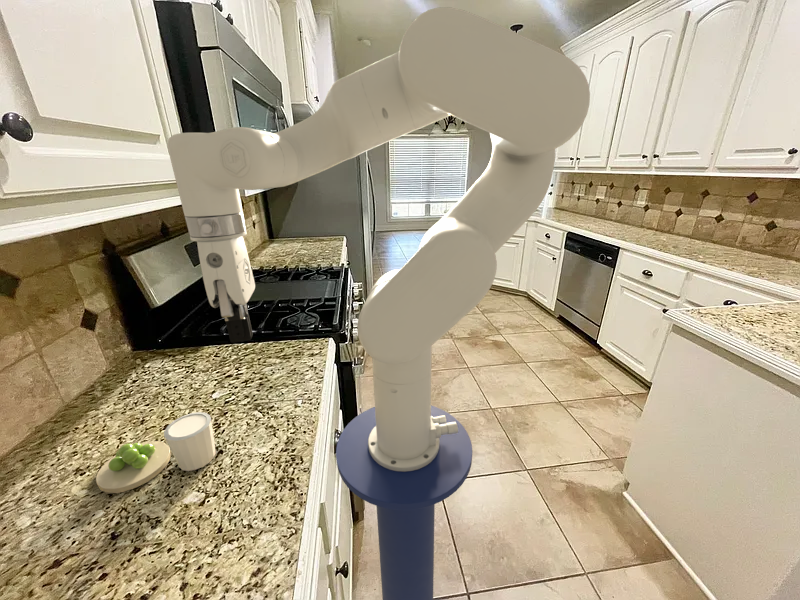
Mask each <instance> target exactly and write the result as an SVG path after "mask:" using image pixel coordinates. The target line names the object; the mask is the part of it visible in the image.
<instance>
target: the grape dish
mask: <svg viewBox="0 0 800 600" xmlns="http://www.w3.org/2000/svg"><path fill="white" fill-rule="evenodd" d="M171 456H172V451H171V449H170V447H169V445H168V443H167V442H166V443H165V442H164V441H159V440H152V441H151V440H149V441H145V442H141V443H140V442H134V443H124V444H123V445H121V446H120V447H119V449H118V450H117V451H116V452H115V455H113V456H112V457H111V458H109V459H108V460H107V461H106V462H105V463H104V464H103V465H102V466H101V467H100V468H99V470H98V472H97V473H96V476H95V482H96V485H97V487H98V489H99V490H100V491H102V492H103V493H106V494H118V493H119V494H121V493H125V492H128V491H130V490H133V489H136V488H138V487H140V486H142V485H144V484H146V483H148V482H149V481H151V480H153V479H154V478H155V477H157V476H158V475H159V474H160V473H161V472H162V471H163V470H164V469H165V468H166V467H167V466H168V464H169V462H170V460H171V458H172V457H171Z"/></svg>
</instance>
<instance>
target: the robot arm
mask: <svg viewBox="0 0 800 600" xmlns="http://www.w3.org/2000/svg"><path fill="white" fill-rule="evenodd" d="M590 91H591V90H590V85H589V82H588V80H587V77H586V74H585V73H584V72H583V71H582V69H581V67H580V65H578V64H577V63H575V62H574V61H573V60H572V59H571V58H569V57H568V56H566V55H564V54H562V53H561V52H559V51H557V50H555V49H553V48H551V47H548V46H546V45H545V44H542V43H540V42H537V41H535V40H533V39H531V38H528V37H526V36H523V35H521V34H520V33H517V32H515V31H513V30H512V29H509V28H507V27H505V26H502V25H501V24H498V23H497V22H494V21H491V20H489V19H487V18H484V17H482V16H480V15H478V14H475V13H472V12H470V11H467V10H465V9H460V8H456V7H451V6H437V7H434V8H431V9H427V10H426V11H424V12H422V13H420V14H419V15H418V16H417V17H416V18H414V19H413V20H412V21H411V23H410V24H409V25H408V27H407V28H406V29H405V32H404V34H403V36H402V38H401V42H400V45H399V50H398V51H396V52H395V53H393V54H390V55H388V56H385V57H384V58H381V59H380V60H378V61H375V62H374V63H371V64H369V65H367V66H365V67H363V68H360V69H358V70H356V71H354V72H352V73H349V74H347V75H345V76H343V77H341V78H338V79H337V80H335V81H334V82H333V83H332V85H331V86H330V88H329V89H328V91H327V94H326V96H325V98H324V101H323V103H322V104H321V106H320V107H319V108H318V109H317V110H316V111H315V112H314V113H313V114H311V115H310V116H308V117H307V118H305V119H303V120H301V121H299V122H297V123H295V124H293V125H291V126H288V127H285V128H284V129H281V130H279V131H276V132H270V131H266V130H261V129H255V128H252V127H246V126H236V127H235V126H234V127H228V128H224V129H220V130H216V131H214V132H213V131H212V132H181V133H179V132H178V133H175V134H172V135H170V136H169V138H168V140H167V150H168V155H169V159H170V163H171V166H172V170H173V175H174V179H175V183H176V186H177V192H178V196H179V200H180V203H181V206H182V212H183V215H184V219H185V223H186V228H187V231H188V235H189V239H190V241H191V242H196V244H197V252H198V258H199V264H200V269H201V274H202V281H203V284H204V289H205V292H206V296H207V300H208V303H209V305H210V306H211V307H212V308H214V309H217V308H219V309H220V316H221V318H222V319H224V321H225V325H226V329H227V333H228V338H229V341H230V343H233V344H234V343H240V342H241V343H242V342H249V341H251V340H252V338H253V335H254V333H253V329H252V324H251V320H250V318H251V317H250V314H249V311H248V304H247V303H248V302H249V301H250V299H251V297H252V296H253V293H254V292H255V289H256V282H255V278H254V274H253V270H252V266H251V265H252V264H251V262H250V257H249V253H248V249H247V245H246V242H245V239H244V237H245V236H247V235H248V233H247V228H246V227H247V226H246V223H245V217H244V212H243V206H242V199H241V196H240V191H239V190H244V191H257V190H265V189H272V188H273V189H274V188H283V187H287V186H290V185H293V184H295V183H298V182H300V181H303V180H305V179H308V178H310V177H312V176H315V175H318V174H320V173H322V172H324V171H326V170H329V169H331V168H333V167H335V166H337V165H339V164H341V163H343V162H345V161H348V160H351V159H354V158H355V157H358V156H359V155H361V154H363V153H365V152H368V151H370V150H372V149H375V148H378V147H380V146H381V145H383V144H386V143H389V142H390V141H392V140H395V139H397V138H400V137H402V136H404V135H408V134H410V133H413V132H414V131H418V130H419V129H423V128H425V127H427V126H430V125H432V124H434V123H436V122H439V121H441V120H444V119H446V118H448V117H450V116H453V117H455V118H457V119H459V120H460V121H463V122H464V123H467V124H469V125H471V126H473V127H475V128H477V129H480V130H482V131H485V132H486V133H489V136H490V141H491V146H492V147H491V148H492V149H491V157H490V160H489V163H488V165H487V167H486V168H485V170H484V171H483V173H482V174H481V175H480V177H478V179H476V180H475V182H474V183H473V184H472V185H471V186H470V188H469V189H468V190H467V191H466V193H465V194H463V196H462V197H461V198H460V199H459V200H458V201H457V202H456V203H455V204H454V205H453V206H452V207H451V208H450V209H449V210H448V211H447V212H446V213H445V214H444V215H443V216H442V217H441V218H440V219H439V220H438V221H436V222H435V223H434V224H433V225H432V226H431V227H430V228H429V229H428V230H427V231H426V232H425V233H424V235H423V237H422V238H421V240H420V243H419V245H418V249H417V251H416V252H415V253H414V254H413V255H412V256H411V257H410V258H409V259H408V260H407V261H406V263H404V265H403V266H402V267H401V268H400V269H399V268H397V269H393V270H390V271H388V272H386V273H384V274H383V275H382V276H380V277H379V278H378V279H377V280H376V281H375V283H374V284H373V285H372V286H371V287H372V288H371V289H370V291H369V293H368V295H367V297H366V299H365V301H364V304H363V305H362V307H361V310H360V312H359V314H358V318H357V326H356V330H357V337H358V340H359V343H360V345H361V347H362V348H363V350H364V351H365V353H366V354H367V355H368V356H369V357H371V360H372V361H371V362H372V378H373V379H372V380H373V397H374V407H375V415H376V426H375V427H374V428H373V430H372V431H371V433H370V435H369V439H368V446H369V452H370V454H371V456H372V458H373V459H374V460H375V461H376V462H377V463H378V464H379V465H381V466H383V467H385V468H387V469H390V470H394V471H403V472H406V471H413V470H417V469H420V468H422V467H424V466H426V465H428V464H429V463H430V462H431V461H432V460H433V459H434V458H435V457H436V455H437V453H438V451H439V443H440V441H439V438H441V435H445V434H448V435H449V434H455V433H458V427H457V424H456V422H450V423H446V417H445V415H443V416H438V417H432V416H431V405H432V370H433V369H432V364H433V363H432V362H433V361H432V360H433V358H432V357H433V351H432V350H433V349H432V348H433V346H434V344H435V343H437V342H438V341H439V340H440V339H441V338H442V337H443V336H445V335H446V334H447V333H448V332H449V331H450V330H451V329H453V328H454V327H455V326H456V325H457V324H458V323H459V322H460V321H462V320H463V318H465V317H466V316H467V315H468V314H469V313H470V312H472V311H473V310H474V309H475V308H476V307H477V306H478V305H479V304H480V302H481V301H482V300H483V299H484V298H485V296H487V294H488V292H489V291H490V289H491V288H492V286H493V283H494V281H495V279H496V274H497V266H498V263H497V255H496V253H497V252H498V251H499V250H500V249H501V248H502V247H503V246H504V245H505V244H506V243H507V242H508V241H509V240H510V239H511V238H512V237H513V236H514V235H515V234H516V233H517V232H518V230H520V228H521V227H523V225H525V223H526V222H527V221H528V220H529V219H530V218H531V217H532V216H533V214H534V213H535V212H536V211H537V210H538V208H539V207H540V206H541V204H542V202H543V201H544V199H545V197H546V195H547V193H548V190H549V188H550V185H551V182H552V177H553V173H554V167H555V163H556V162H555V160H556V149H558V148H559V147H561V146H563V145H565V144H566V143H568V142H569V141H570V140H571V139H572V138H573V137H574V136H575V135H576V134H577V133H578V131H579V130H580V129H581V127H582V125H583V124H584V122H585V119H586V118H587V116H588V112H589V108H590V101H591V92H590ZM443 423H445V424H443ZM439 424H442V425H439Z"/></svg>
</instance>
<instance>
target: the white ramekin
mask: <svg viewBox="0 0 800 600" xmlns="http://www.w3.org/2000/svg"><path fill="white" fill-rule="evenodd" d="M212 422H213V421H212V417H211V415H210V414H209V413H207V412H203V411H202V412H201V411H197V412H191V413H187V414H185V415H182V416H180V417H178V418H176V419H175V420H173V421H172V422H170V423H169V424H168V425H167V426H166V427H165V429H164V431H163V437H164V440H165V441H166V444H167V445H168V446H169V448H170V451H171V454H172V456H173V458H174V460H175V461H176V464H177V466H178V467H179V469H181V471H186V472H191V471H197V470H199V469H200V468H203V467H205V466H207V465H208V464H209V463H210V462H211V461H212V460H213V459H214V458H215V456H216V443H215V436H214V429H213V423H212Z"/></svg>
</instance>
